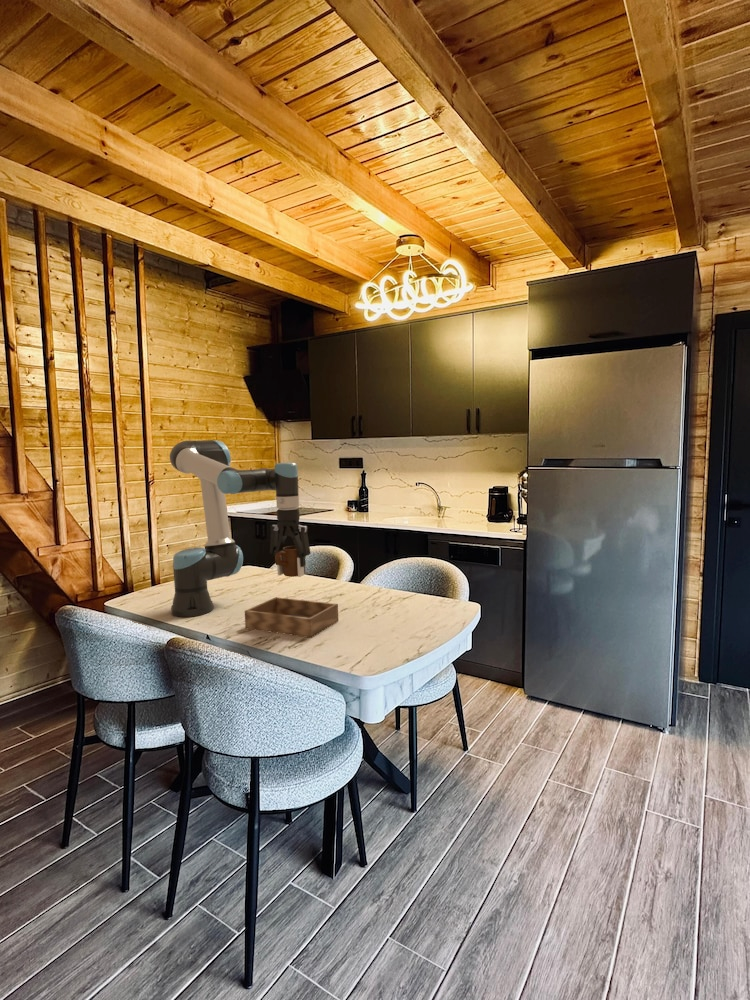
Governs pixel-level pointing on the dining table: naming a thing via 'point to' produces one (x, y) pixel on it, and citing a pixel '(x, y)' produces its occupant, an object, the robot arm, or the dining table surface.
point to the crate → (278, 620)
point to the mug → (288, 561)
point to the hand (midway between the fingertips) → (290, 575)
